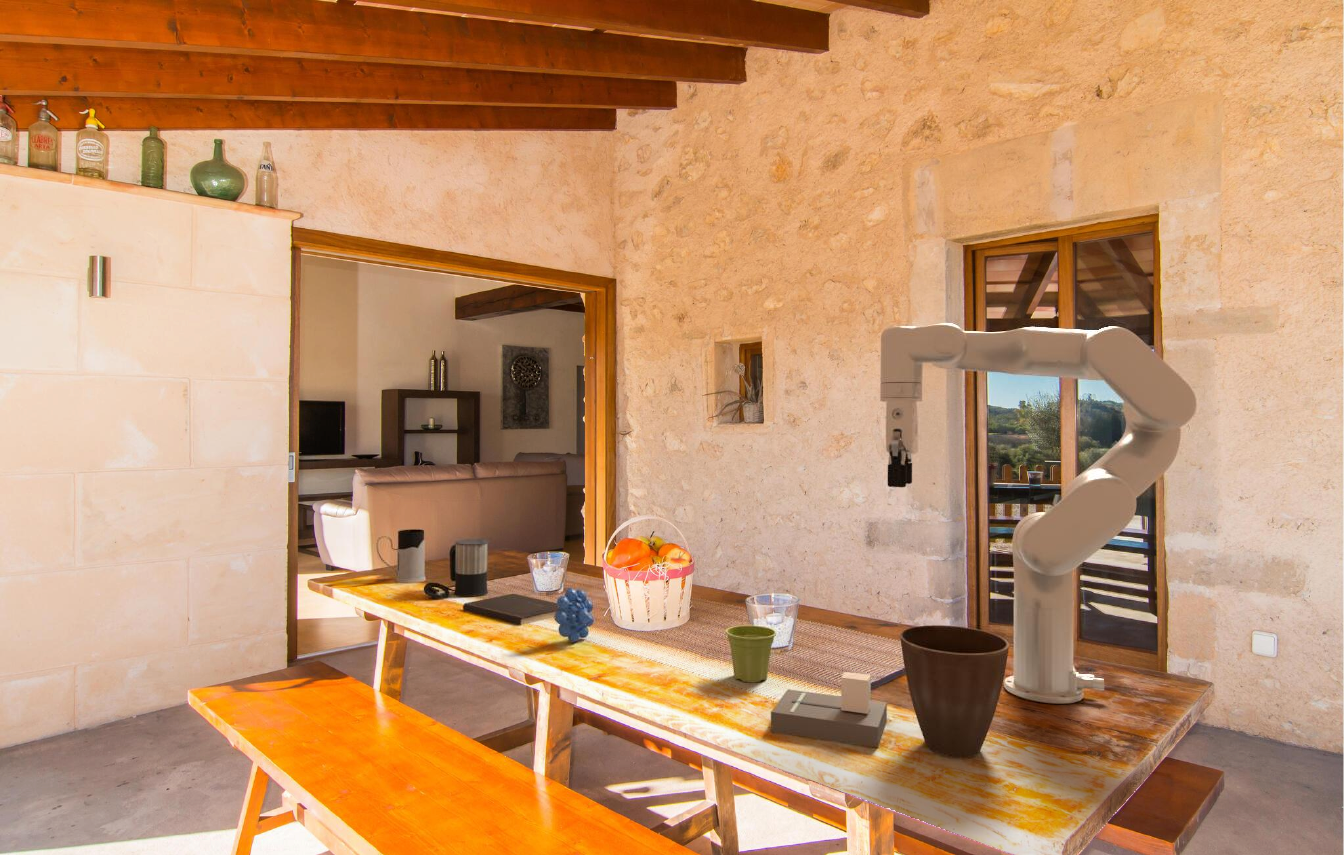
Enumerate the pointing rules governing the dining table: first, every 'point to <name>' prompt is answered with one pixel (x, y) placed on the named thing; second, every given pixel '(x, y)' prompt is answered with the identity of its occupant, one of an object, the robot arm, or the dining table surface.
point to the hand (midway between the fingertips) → (900, 485)
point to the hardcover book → (513, 608)
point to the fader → (856, 692)
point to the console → (828, 719)
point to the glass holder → (409, 556)
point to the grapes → (574, 614)
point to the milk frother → (465, 570)
